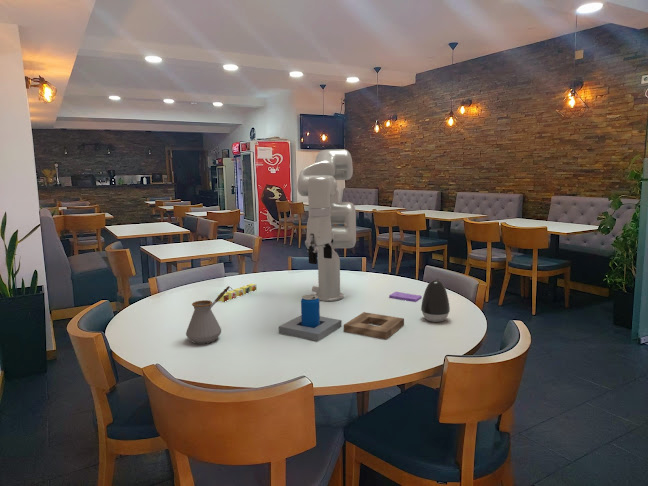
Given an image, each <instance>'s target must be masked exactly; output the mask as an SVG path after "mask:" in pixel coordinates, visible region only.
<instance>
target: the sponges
mask: <svg viewBox="0 0 648 486" xmlns="http://www.w3.org/2000/svg"><path fill="white" fill-rule="evenodd" d="M422 296H423V295H420V294H419V295H418V294H412V293H405V292H400V291H394V292H392V293H391V294H389V297H388V299H394V300H400V301H405V300H406V302H412V303H416V302H418V301H419V300H421V299H423V298H422Z"/></svg>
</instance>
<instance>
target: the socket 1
mask: <svg viewBox="0 0 648 486" xmlns="http://www.w3.org/2000/svg"><path fill="white" fill-rule="evenodd" d="M342 322H343V321H342V320H341V319H337V318H332V317H325V316H321V315H320V325H319V326H317V327H315V328H311V327H305V326H302V320H301V315H298V316H297V317H294V318H293V319H290V320H288V321H287V322H285V323H282V324H281V325H279V326H278V334H281V335H285V336H290V337H295V338H299V339H306V340H308V341H309V340H310V341H315V342H320V341H321V340H323V339H324V338H326V337H327V336H329V335H331V334H332V333H334V332H335V331H337V330H339V329H340V328H342V324H343V323H342Z"/></svg>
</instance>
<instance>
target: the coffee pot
mask: <svg viewBox="0 0 648 486" xmlns="http://www.w3.org/2000/svg"><path fill="white" fill-rule="evenodd" d="M230 289H231V290H230ZM228 291H233V288H232V287H231V286H229V285H227V286H226V288H224V289H223V291H221V292H220V293H219V294H220V295H219V294H218V295H219V296H218V295H217V297H216V298H215V299H214V301H213V302H212V301H211V300H206V299H205V300H197V301H193V302H192V303H191V306H193V312H192V316H191V319H190V321H189V323H188V326H187V328H186V329H187V330H186V332H185V336H186V337H187V339H188V340H189V341H190V342H192V341H193V342H195V343H194V344H196V343H201V344H200V345H206V344H205V343H207V344H210V342H211V343H213V342H215V341H216V340H217V338H218V337H220V335H221V333H222V328H221V326H220V324H219V322H218V320H217V319H216V316H215V314H214V312H213V311H212V308H213V307H214V305H215V304H216V303H218V302H219V301H218V300H219V299H220V298H221V297H222V296H223V295H224V294H226V292H228ZM193 342H192V343H193Z"/></svg>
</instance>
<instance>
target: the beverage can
mask: <svg viewBox="0 0 648 486" xmlns="http://www.w3.org/2000/svg"><path fill="white" fill-rule="evenodd" d="M320 301H321V300H319V298H318V296H317V295H316V294H305V295H303V296H301V299H300V311H301V312H300V314H301V320H302V326H305V327H311V328H315V327H317V326H319V325H320V316H321V305H320Z"/></svg>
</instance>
